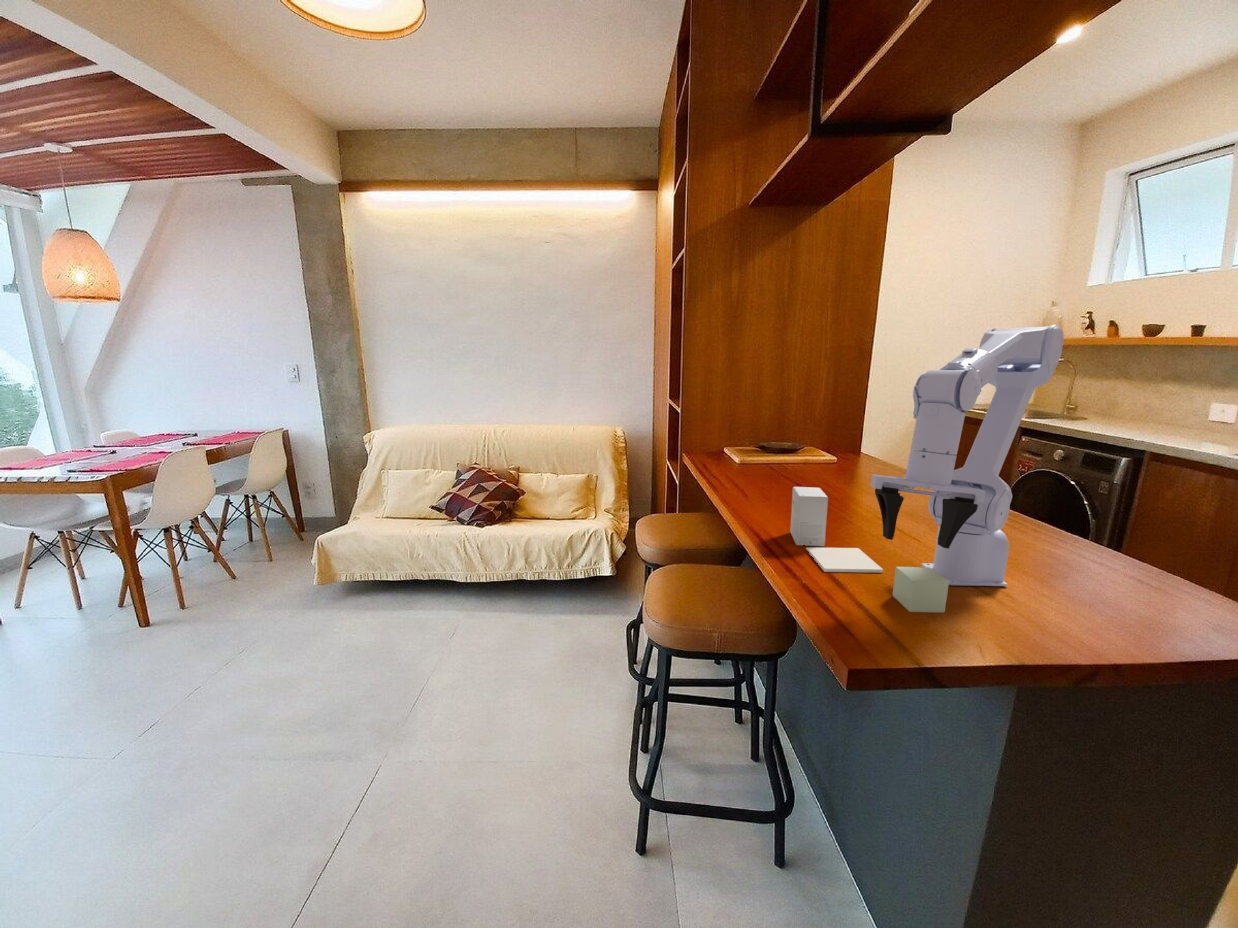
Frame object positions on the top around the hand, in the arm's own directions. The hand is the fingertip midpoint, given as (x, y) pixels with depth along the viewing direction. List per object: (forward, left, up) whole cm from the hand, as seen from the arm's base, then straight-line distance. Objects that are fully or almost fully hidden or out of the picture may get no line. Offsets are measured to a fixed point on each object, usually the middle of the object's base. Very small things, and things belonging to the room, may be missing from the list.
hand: (915, 542), depth 71 cm
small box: (+7, -27, -10) cm, 29 cm away
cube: (-1, 0, -10) cm, 10 cm away
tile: (+4, -16, -10) cm, 19 cm away
